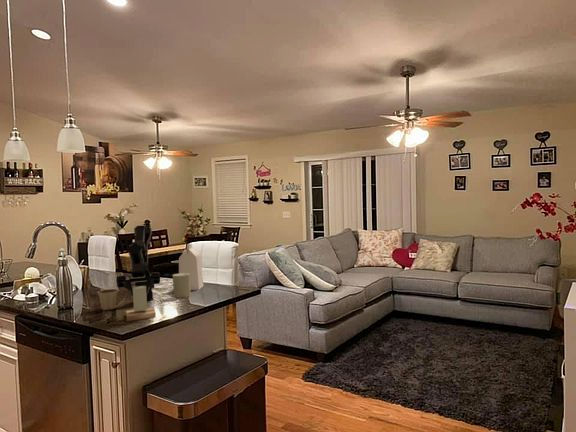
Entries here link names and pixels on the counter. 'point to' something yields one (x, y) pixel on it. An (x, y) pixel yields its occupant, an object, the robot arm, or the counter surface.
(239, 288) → the counter surface
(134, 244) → the robot arm
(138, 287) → the canister
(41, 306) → the counter surface
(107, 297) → the flower pot
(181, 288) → the olive grey block
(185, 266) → the milk
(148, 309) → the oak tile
